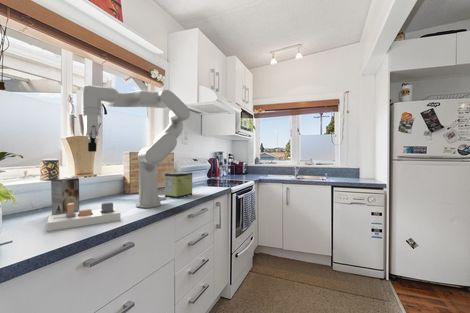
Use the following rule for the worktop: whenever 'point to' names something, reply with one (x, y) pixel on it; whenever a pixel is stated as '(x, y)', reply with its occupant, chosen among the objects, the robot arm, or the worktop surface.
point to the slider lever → (70, 210)
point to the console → (81, 219)
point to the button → (107, 207)
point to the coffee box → (64, 195)
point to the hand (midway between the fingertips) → (92, 151)
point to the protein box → (178, 184)
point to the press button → (85, 212)
